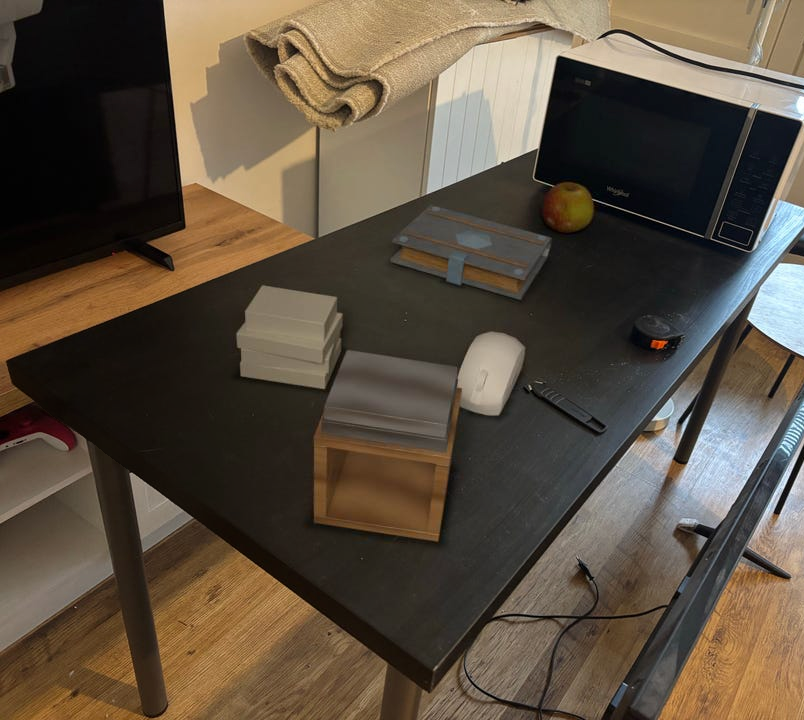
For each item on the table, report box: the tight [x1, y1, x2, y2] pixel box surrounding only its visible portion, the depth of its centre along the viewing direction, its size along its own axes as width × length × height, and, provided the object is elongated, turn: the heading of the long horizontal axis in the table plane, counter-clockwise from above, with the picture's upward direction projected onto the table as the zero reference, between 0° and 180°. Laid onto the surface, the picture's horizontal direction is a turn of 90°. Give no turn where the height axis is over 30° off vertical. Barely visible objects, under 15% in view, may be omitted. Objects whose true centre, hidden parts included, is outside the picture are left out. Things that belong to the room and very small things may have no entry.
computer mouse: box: [456, 330, 526, 416], centre depth 90 cm, size 6×13×6 cm, turn 163°
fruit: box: [541, 181, 595, 234], centre depth 129 cm, size 10×9×8 cm
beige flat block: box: [244, 285, 338, 342], centre depth 85 cm, size 6×9×2 cm, turn 85°
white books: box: [235, 312, 344, 390], centre depth 88 cm, size 9×10×6 cm
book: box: [389, 204, 553, 301], centre depth 115 cm, size 21×16×5 cm
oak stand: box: [313, 349, 462, 543], centre depth 70 cm, size 10×12×14 cm
